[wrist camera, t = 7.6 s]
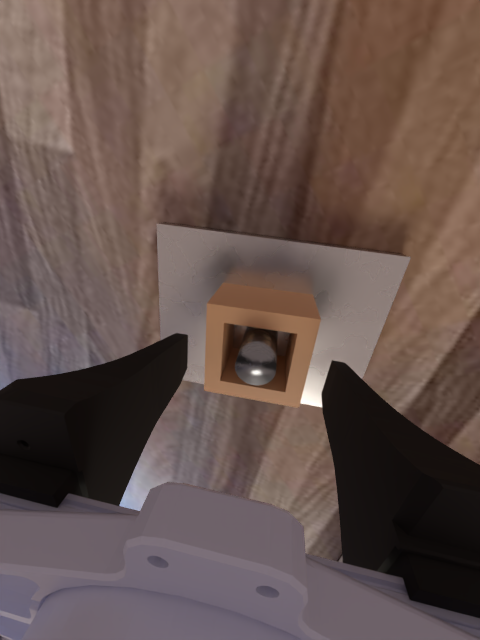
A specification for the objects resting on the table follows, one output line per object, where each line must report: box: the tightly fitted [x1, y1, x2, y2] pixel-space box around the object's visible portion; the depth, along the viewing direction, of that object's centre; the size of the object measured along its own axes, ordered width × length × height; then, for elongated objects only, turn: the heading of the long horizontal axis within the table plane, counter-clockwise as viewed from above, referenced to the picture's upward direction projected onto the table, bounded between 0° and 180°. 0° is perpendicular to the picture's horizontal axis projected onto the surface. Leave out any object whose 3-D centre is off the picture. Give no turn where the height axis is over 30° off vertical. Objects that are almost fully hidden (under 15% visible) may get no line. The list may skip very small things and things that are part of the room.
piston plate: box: [157, 222, 411, 407], centre depth 15 cm, size 14×11×6 cm
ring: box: [204, 283, 321, 408], centre depth 14 cm, size 5×5×4 cm
